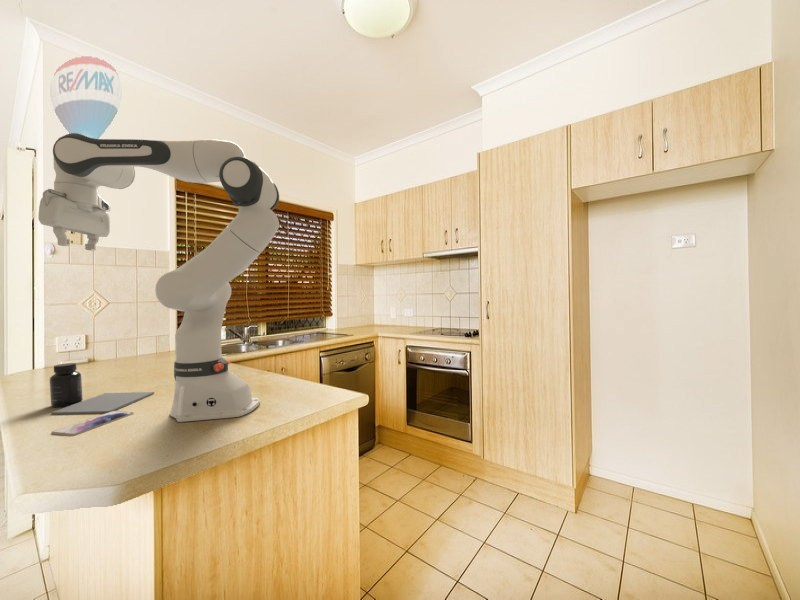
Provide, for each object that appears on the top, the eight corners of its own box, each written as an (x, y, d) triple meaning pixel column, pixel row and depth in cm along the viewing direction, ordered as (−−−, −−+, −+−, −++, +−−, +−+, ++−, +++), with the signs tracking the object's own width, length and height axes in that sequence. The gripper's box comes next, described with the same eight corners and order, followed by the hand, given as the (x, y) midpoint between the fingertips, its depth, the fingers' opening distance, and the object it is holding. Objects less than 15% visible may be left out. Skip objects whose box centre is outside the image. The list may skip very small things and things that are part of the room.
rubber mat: (154, 393, 112) (154, 392, 112) (109, 413, 94) (109, 411, 94) (105, 394, 111) (105, 393, 111) (51, 414, 93) (51, 412, 93)
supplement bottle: (69, 400, 106) (68, 361, 105) (88, 401, 105) (87, 362, 104) (43, 407, 99) (42, 366, 99) (63, 408, 98) (62, 367, 98)
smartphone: (135, 412, 93) (73, 434, 79) (135, 415, 93) (73, 438, 79) (113, 410, 95) (49, 432, 80) (113, 413, 95) (49, 435, 80)
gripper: (58, 187, 84) (59, 243, 84) (114, 207, 104) (114, 252, 105) (28, 185, 83) (30, 242, 83) (91, 206, 103) (91, 252, 104)
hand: (77, 248), depth 94 cm, fingers open, 8 cm apart
